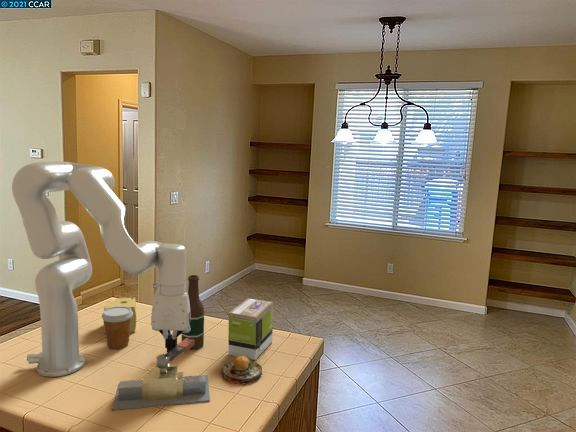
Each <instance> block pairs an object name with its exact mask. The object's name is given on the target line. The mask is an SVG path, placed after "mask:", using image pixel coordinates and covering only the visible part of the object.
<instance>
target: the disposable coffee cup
mask: <svg viewBox="0 0 576 432" xmlns="http://www.w3.org/2000/svg"><path fill="white" fill-rule="evenodd" d="M132 315H133V312H132V310H131V308H129V307H125V306H117V307H111V308H108V309H106V310H104V309H103V312H102V314H101V318H102V320H104V321H103V327H104V326H105V331H104V333H105V332H106V335H105V338H106V344H107V348H108V350H109V349H110V350H113V351H116V350H117V351H118V350H123V349H125V348H127V347H128V346H129V342H130V341H129V340H130V335H131V333H130V326H131V318H132Z"/></svg>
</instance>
